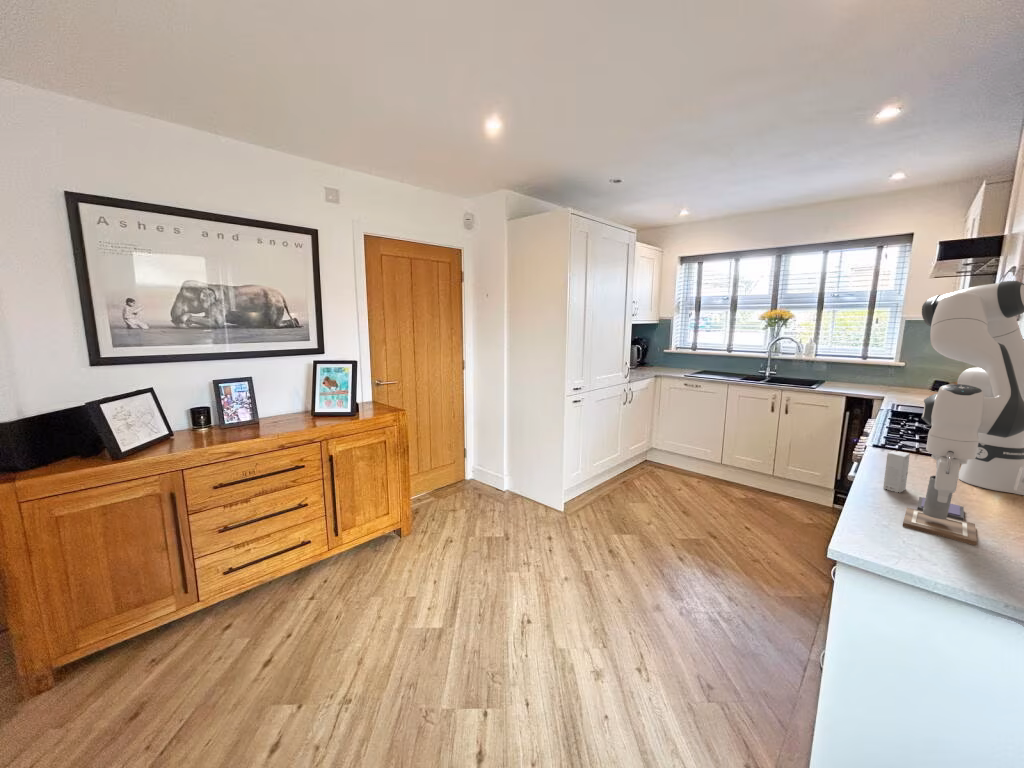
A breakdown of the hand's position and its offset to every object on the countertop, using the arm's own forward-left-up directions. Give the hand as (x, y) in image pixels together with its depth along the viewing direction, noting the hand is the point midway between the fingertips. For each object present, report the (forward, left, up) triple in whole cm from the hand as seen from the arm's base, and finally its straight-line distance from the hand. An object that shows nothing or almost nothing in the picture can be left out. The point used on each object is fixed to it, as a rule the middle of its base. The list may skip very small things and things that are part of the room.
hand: (942, 498), depth 106 cm
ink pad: (-11, -8, -8) cm, 16 cm away
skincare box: (-14, -23, -8) cm, 28 cm away
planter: (0, -1, -5) cm, 5 cm away
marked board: (0, 0, -8) cm, 8 cm away
